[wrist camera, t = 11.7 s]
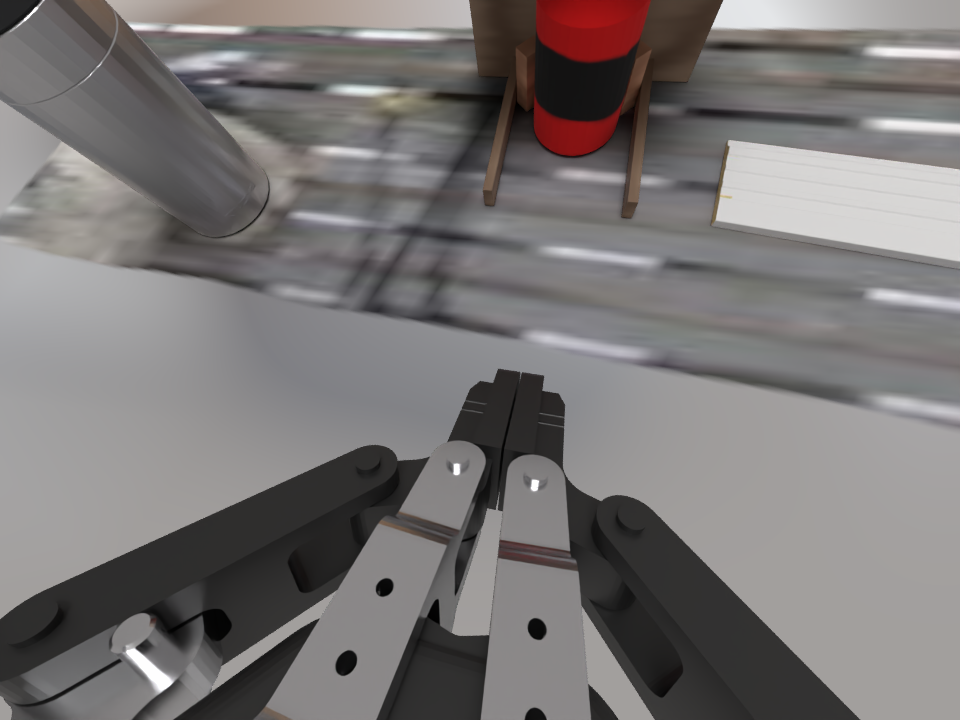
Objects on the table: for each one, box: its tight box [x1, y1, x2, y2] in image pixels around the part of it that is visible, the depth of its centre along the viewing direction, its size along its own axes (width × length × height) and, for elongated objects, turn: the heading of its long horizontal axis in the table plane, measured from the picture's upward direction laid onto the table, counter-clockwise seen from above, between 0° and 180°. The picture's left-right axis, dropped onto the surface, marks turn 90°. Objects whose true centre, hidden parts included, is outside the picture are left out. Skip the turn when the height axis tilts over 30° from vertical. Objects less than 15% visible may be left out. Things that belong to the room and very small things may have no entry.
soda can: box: [534, 0, 651, 156], centre depth 28 cm, size 8×8×12 cm
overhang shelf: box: [469, 0, 723, 218], centre depth 25 cm, size 20×17×19 cm
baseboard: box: [711, 140, 960, 269], centre depth 27 cm, size 30×3×10 cm
